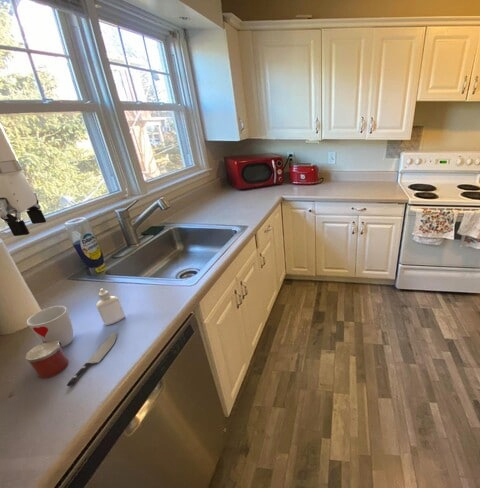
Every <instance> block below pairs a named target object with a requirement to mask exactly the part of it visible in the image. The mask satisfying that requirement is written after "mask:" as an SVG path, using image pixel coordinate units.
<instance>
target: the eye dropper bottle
mask: <svg viewBox="0 0 480 488" xmlns="http://www.w3.org/2000/svg"><path fill="white" fill-rule="evenodd" d="M99 290H100V291H99V293H98V295H97V296H98V297H99V299H100V300H98V301H97V303H96V304H95V306H96V310H97V312H98V315H99V316H100V318H101V321H102V323H103V324H104V325H105V326H109V325H113V324H116V323H117V322H120V321H121V320H123V319H124V318H125V317H126V314H125V312H124V310H123V307H122V304H121V302H120V299H119V298H118V296H116V295H110V293H109V291H108V290H105V289H104V288H100V289H99Z"/></svg>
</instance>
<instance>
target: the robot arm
mask: <svg viewBox="0 0 480 488" xmlns="http://www.w3.org/2000/svg"><path fill="white" fill-rule="evenodd" d="M24 212H26V215H27V217H28V218H29V219H30V222H31V224H32V225H33V224H34V225H35V224H37V225H38V224H45V223H46V222H47V219H46V217H45V215H44V213H43V211H42V208H41V205H40V204H39V199H38V196H37V193H36V192H35V191H34V190H33V188H32V187H31V185H30V183H29V181H28V179H27V178H26V177H25V174H24V170H23V168H22V165H21V164H20V162H19V159H18V157H17V155H16V153H15V150H14V148H13V147H12V144H11V143H10V140H9V138H8V136H7V134H6V131H5V130H4V128H3V126H2V123H0V219H2V220H3V222H4V223H5V224H7V226H8V228H9V230H10V231H11V233H12V235H13V236H14V237H20V236H21V237H22V236H29V235H30V230H29V229H28V227H27V225H26V223H25V220H24V219H22V218H21V217H22V215H21V213H24Z"/></svg>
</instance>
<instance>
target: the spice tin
mask: <svg viewBox="0 0 480 488" xmlns="http://www.w3.org/2000/svg"><path fill="white" fill-rule="evenodd" d="M25 360H27V361H28V362H29V365H31V367H32V369H33V370H34V372H35V373H36V374H37V376H38V378H40V379H49V378H52V377H54V376H56V375H58V374H60V373H62V372H63V371H64V370H65V369H66V368H67V367H68V366H69V359H68V357H67V356H66V354H65V353H64V351H63V348H62V347H60V344H59V342H57V341H48V342H45V343H43V342H42V343H40V344H38V345H35V346H34V347H32V348H31V349H30V350H29V351H28V352H27V353H26V355H25Z"/></svg>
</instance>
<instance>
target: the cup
mask: <svg viewBox="0 0 480 488" xmlns="http://www.w3.org/2000/svg"><path fill="white" fill-rule="evenodd" d="M26 324H27V325H28V327H29V328H30V329H31V331H32V332H33V333H34V335H35V336H36V337H37V339H39V340H40V341H41V342H42V343H45V342H48V341H57V342H59V344H60V347H61V348H64V347H66V346H68V345H69V344H70V343H72V342H73V340H74V328H73V323H72V318H71V317H70V314H69V312H68V309H67V307H66V306H64V305H55V306H50V307H46V308H44V309H42V310H39V311H37V312H35V313H34V314H32V315H31V316H29V318H28V319H27V320H26Z"/></svg>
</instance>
